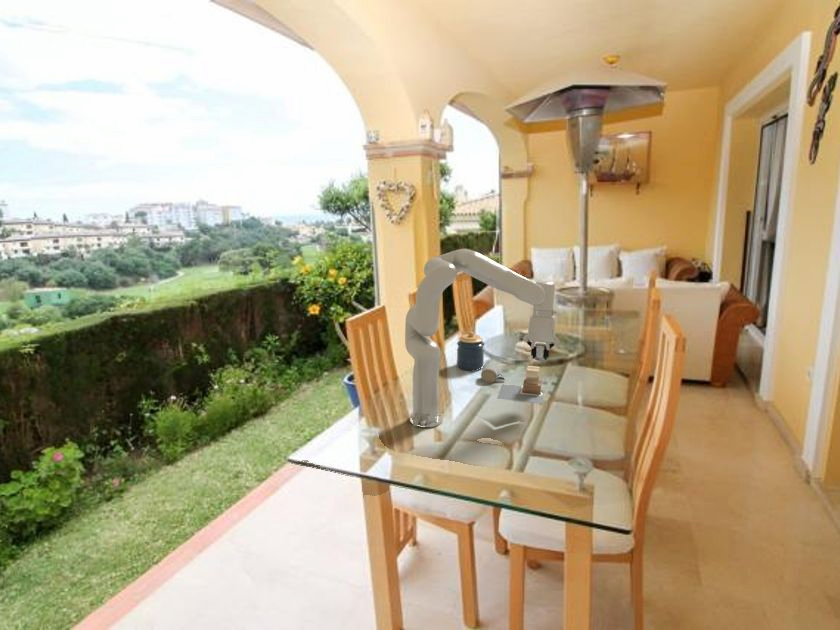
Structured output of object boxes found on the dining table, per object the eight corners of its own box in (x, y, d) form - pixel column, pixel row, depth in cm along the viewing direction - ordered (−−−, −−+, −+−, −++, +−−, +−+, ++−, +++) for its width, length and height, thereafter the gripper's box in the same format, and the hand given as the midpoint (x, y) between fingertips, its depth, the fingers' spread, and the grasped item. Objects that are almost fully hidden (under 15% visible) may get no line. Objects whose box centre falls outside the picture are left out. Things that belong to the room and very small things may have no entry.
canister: (483, 372, 228) (484, 336, 223) (455, 370, 230) (456, 335, 225) (483, 362, 240) (485, 328, 236) (457, 361, 242) (458, 327, 238)
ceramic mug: (480, 383, 215) (481, 367, 213) (482, 376, 222) (483, 361, 220) (504, 386, 212) (505, 370, 210) (505, 379, 220) (506, 363, 218)
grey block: (544, 361, 189) (545, 346, 187) (534, 359, 190) (534, 345, 189) (545, 357, 193) (546, 343, 191) (534, 356, 194) (535, 342, 192)
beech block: (538, 384, 201) (538, 371, 199) (525, 383, 202) (526, 369, 201) (538, 380, 205) (539, 366, 204) (526, 378, 207) (527, 365, 205)
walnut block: (539, 394, 201) (540, 385, 200) (522, 392, 203) (523, 383, 202) (541, 388, 207) (541, 379, 206) (524, 386, 209) (524, 377, 208)
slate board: (542, 406, 193) (542, 403, 192) (496, 400, 198) (497, 398, 197) (544, 388, 209) (544, 386, 209) (502, 383, 214) (502, 381, 214)
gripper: (565, 312, 188) (561, 357, 192) (521, 309, 193) (519, 353, 197) (565, 317, 181) (561, 363, 185) (519, 313, 186) (517, 359, 190)
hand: (539, 357), depth 191 cm, fingers closed on grey block, 4 cm apart
